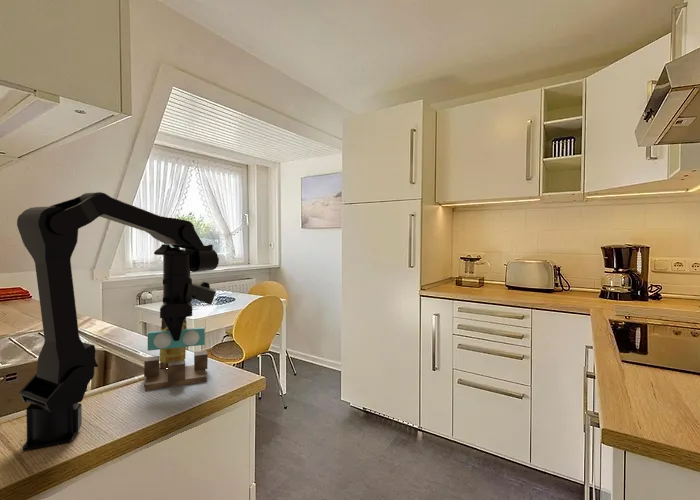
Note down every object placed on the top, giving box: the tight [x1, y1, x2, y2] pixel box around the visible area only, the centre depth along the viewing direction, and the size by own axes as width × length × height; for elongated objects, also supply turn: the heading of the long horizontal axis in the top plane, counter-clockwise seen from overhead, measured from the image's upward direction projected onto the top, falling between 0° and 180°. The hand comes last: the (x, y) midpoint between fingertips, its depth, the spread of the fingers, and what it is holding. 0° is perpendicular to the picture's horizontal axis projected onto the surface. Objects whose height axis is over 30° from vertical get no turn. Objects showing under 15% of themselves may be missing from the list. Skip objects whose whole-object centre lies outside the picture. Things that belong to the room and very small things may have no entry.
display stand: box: [143, 350, 209, 391], centre depth 87 cm, size 14×9×5 cm, turn 116°
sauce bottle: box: [159, 317, 188, 369], centre depth 95 cm, size 7×6×20 cm
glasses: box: [147, 326, 206, 352], centre depth 86 cm, size 12×8×4 cm, turn 116°
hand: (176, 339), depth 83 cm, fingers closed on glasses
